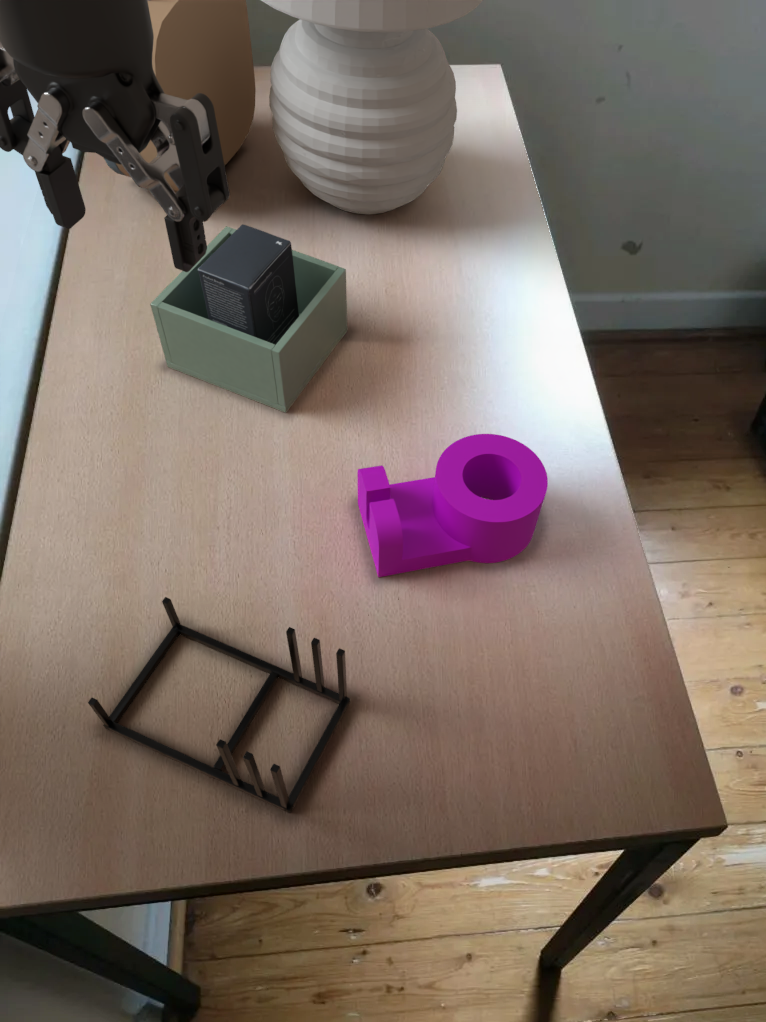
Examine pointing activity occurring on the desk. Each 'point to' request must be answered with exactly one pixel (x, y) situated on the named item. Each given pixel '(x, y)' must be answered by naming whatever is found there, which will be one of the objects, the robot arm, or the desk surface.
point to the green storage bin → (246, 358)
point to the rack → (229, 748)
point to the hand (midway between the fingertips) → (130, 242)
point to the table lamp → (365, 98)
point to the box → (251, 284)
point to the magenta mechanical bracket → (455, 507)
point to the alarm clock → (204, 65)
